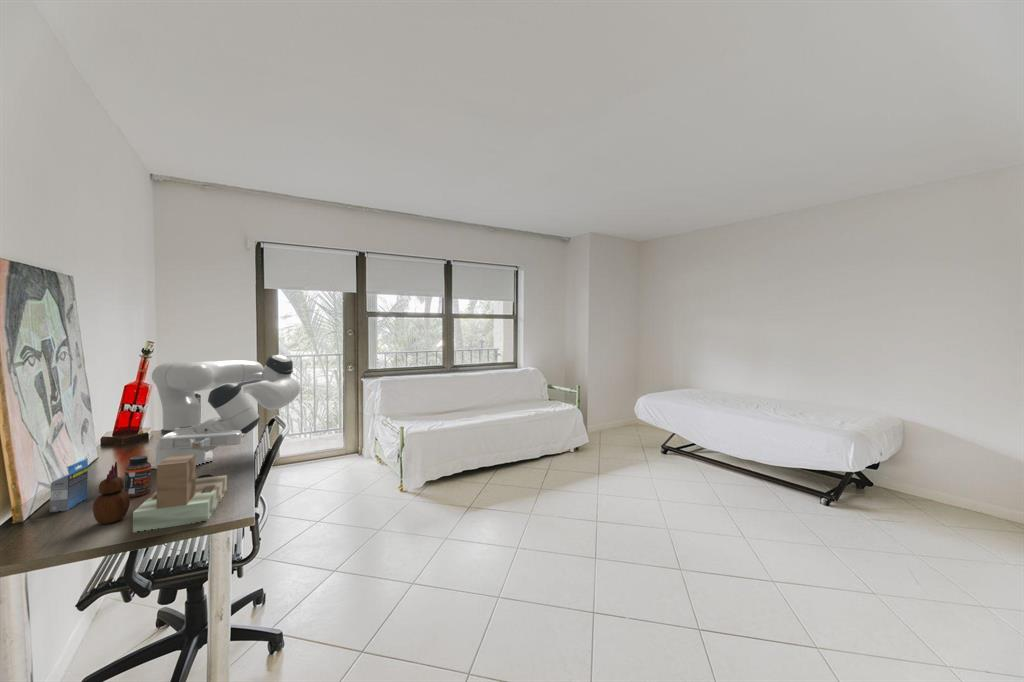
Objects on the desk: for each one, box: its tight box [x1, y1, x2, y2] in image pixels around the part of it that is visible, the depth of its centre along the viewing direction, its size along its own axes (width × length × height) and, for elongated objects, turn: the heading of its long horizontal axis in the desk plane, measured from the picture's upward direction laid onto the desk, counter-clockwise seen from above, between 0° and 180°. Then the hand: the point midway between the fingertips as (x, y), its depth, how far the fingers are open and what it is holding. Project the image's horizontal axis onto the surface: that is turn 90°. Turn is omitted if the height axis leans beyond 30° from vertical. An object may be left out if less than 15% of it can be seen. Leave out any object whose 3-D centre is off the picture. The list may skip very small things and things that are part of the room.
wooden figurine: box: [92, 461, 131, 525], centre depth 104 cm, size 7×6×15 cm
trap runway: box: [132, 474, 228, 533], centre depth 112 cm, size 23×15×5 cm, turn 25°
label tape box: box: [49, 457, 89, 513], centre depth 113 cm, size 9×4×12 cm, turn 22°
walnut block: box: [156, 454, 197, 509], centre depth 105 cm, size 8×6×11 cm
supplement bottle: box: [124, 455, 152, 498], centre depth 122 cm, size 6×6×11 cm
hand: (196, 445), depth 116 cm, fingers closed
